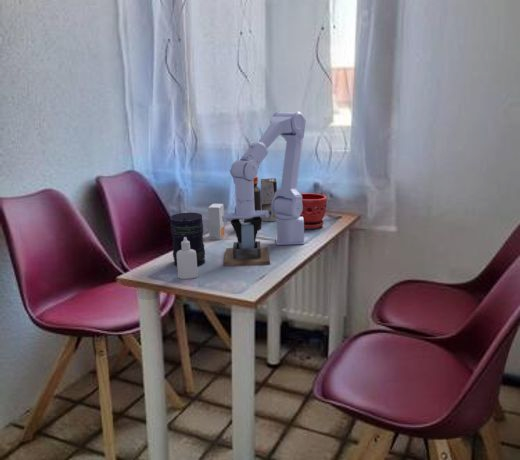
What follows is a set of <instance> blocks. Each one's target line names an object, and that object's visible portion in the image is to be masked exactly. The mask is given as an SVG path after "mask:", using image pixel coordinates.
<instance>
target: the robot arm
mask: <svg viewBox="0 0 520 460" xmlns="http://www.w3.org/2000/svg"><path fill="white" fill-rule="evenodd" d="M306 121H307V120H306V118H305V116H304V114H303V113H302V112H301V111H290V112H289V111H274V113H273V115H271V117H270V118H269V125H268V126H267V128H266V129H265V131H264V132H263V134H262V136H261V137H260V139H259V140H258V141H254V142H251V143H250V144H249V147H248V149H247V150H246V151H245V152H244V154H243V155H242V156H241V157H240V159H236V160H235V161H234V162H233V163H232V164H231V167H230V170H229V173H230V175H231V177H232V179H233V180H232V181H233V183H234V190H235V191H234V192H235V194H234V195H235V210H236V212H231V213H226V214H225V213H224V215H222V221H223V222H224V223H227V222H230V224H231V225H232V228H233V230H234V232H235V235H236V239H237V242H239V243H241V225H242V224H241V223H242V222H241V221H244V219H250V223H251V224H253V225H254V241H257V240H256V239H257V235H258V231H259V230H258V229H259V226H260V224H262V222H263V221H262V217H269V211H267V210H262V209H261V210H258V211H255V208H254V178H255V177H258V176H257V175H258V171H259V168H260V165H261V163H262V162H263V161H264V159H265V158H266V157H267V155H268V149H269V148H270V146H271V145H272V144H273V143H274V142H275V141H276V139H277V138H278V137H279V136H280V137H282V138H283V139H284V141H285V142H286V144H285V151H284V152H285V153H284V160H283V168H282V174H281V175H282V176H281V184H280V188H279V189H278V190H277V191H276V192H275V195H274V199H273V201H272V204H271V208H272V211H273V213H274V214H275V217H277V221H276V236H275V242H276V245H277V246H286V245H304V244H305V229H304V219H303V217H299V216H300V215H301V213H302V210H303V205H302V195H301V194H302V193H300V192H299V191H298V181H299V180H298V179H299V172H300V166H301V157H302V150H303V142H304V137H305V131H306V123H307V122H306ZM260 218H261V219H260Z"/></svg>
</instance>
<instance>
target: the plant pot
mask: <svg viewBox="0 0 520 460" xmlns="http://www.w3.org/2000/svg"><path fill="white" fill-rule="evenodd" d="M300 194H301V195H302V205H303V210H302V213H301V215H300V216H299V217H303V219H304V230H305V229H307V230H312V229H313V230H314V229H319V228H321V227H322V226H323V225H324V223H325V221H324V220H323V219H324V217H325V214H326V211H327V204H328V198H327V196H326V195H325V194H320V193H308V192H307V193H300Z"/></svg>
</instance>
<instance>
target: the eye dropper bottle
mask: <svg viewBox="0 0 520 460" xmlns="http://www.w3.org/2000/svg"><path fill="white" fill-rule="evenodd" d="M181 247H182V250H179V251H178V252H177V267H176V268H177V277H178V279H179V278H180V280H190V279H195V278H198V276H199V273H198V267H197V257H196V251H195V250H193V249H190V241H187V238H186V237H184V240H183V241H182V242H181Z"/></svg>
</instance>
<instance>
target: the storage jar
mask: <svg viewBox="0 0 520 460" xmlns="http://www.w3.org/2000/svg"><path fill="white" fill-rule="evenodd" d="M169 218H170V219H169V221H170V230H171V231H170V232H171V233H170V234H171V236H172V257H173V260H174V261H173V264H174V266H175V267H176V268H177V252H178V251H179V250H182V247H181V242H182V241H183V240H184V237H186V238H187V241H190V249H193V250H195V251H196V257H197V268H198V267H201V266H203V265H205V264H206V259H205V258H206V252H205V251H206V249H205V244H204V236H203V235H204V223H203V215H202V214H201V213H197V212H183V213H181V212H180V213H177V214H174V215H173V214H172V215H171V216H170V217H169Z"/></svg>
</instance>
